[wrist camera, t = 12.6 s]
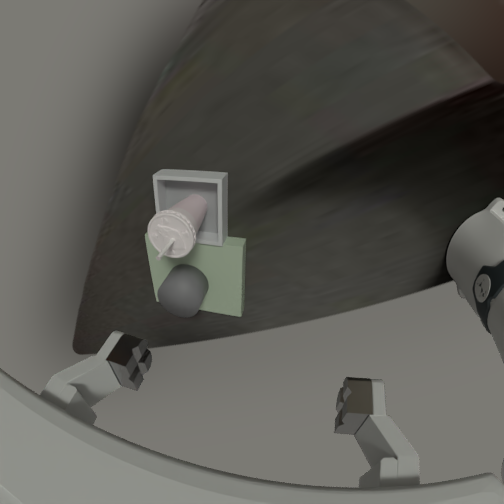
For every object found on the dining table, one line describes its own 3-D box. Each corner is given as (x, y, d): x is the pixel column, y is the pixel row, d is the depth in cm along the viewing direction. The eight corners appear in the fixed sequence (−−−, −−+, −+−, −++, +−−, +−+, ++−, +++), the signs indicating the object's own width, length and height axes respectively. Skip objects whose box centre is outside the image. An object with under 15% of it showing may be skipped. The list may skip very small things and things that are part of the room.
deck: (248, 174, 41) (235, 193, 35) (244, 307, 54) (234, 337, 48) (145, 168, 43) (118, 185, 37) (161, 293, 56) (145, 319, 50)
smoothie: (201, 232, 47) (164, 287, 35) (169, 207, 46) (122, 255, 34) (224, 204, 44) (190, 255, 32) (190, 177, 42) (143, 218, 31)
